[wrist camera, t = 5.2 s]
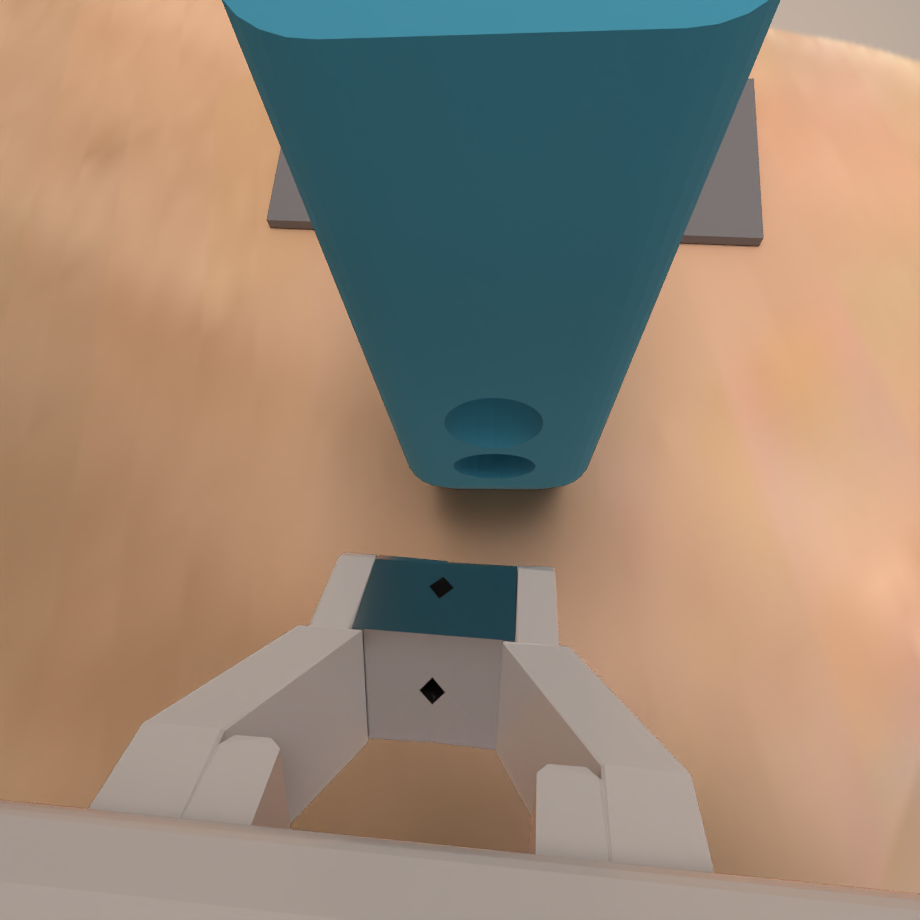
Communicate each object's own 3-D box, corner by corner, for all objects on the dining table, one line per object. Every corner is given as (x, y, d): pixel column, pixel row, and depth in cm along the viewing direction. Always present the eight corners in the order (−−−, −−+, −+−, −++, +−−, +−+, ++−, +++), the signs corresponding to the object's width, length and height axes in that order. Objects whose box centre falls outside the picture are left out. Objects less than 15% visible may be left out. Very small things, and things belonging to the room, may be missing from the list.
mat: (270, 227, 29) (266, 220, 29) (299, 78, 32) (296, 69, 31) (758, 245, 28) (763, 238, 27) (749, 88, 30) (753, 78, 30)
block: (568, 537, 24) (814, 24, 6) (427, 535, 25) (196, 42, 6) (560, 246, 28) (690, -663, 9) (437, 247, 28) (317, -630, 9)
